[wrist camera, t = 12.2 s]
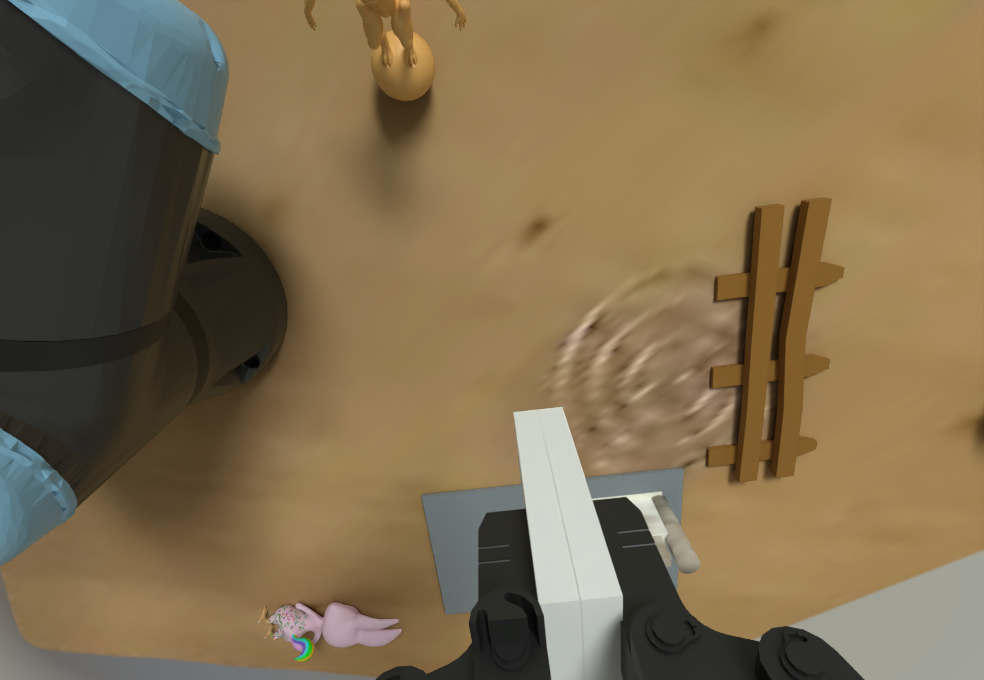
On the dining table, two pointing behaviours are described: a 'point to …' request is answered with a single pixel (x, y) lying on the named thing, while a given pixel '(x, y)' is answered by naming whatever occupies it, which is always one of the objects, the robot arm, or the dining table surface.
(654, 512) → the white fence section
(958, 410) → the dining table surface
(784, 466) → the decorative fence
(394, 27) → the figurine
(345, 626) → the rabbit figure
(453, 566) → the board
